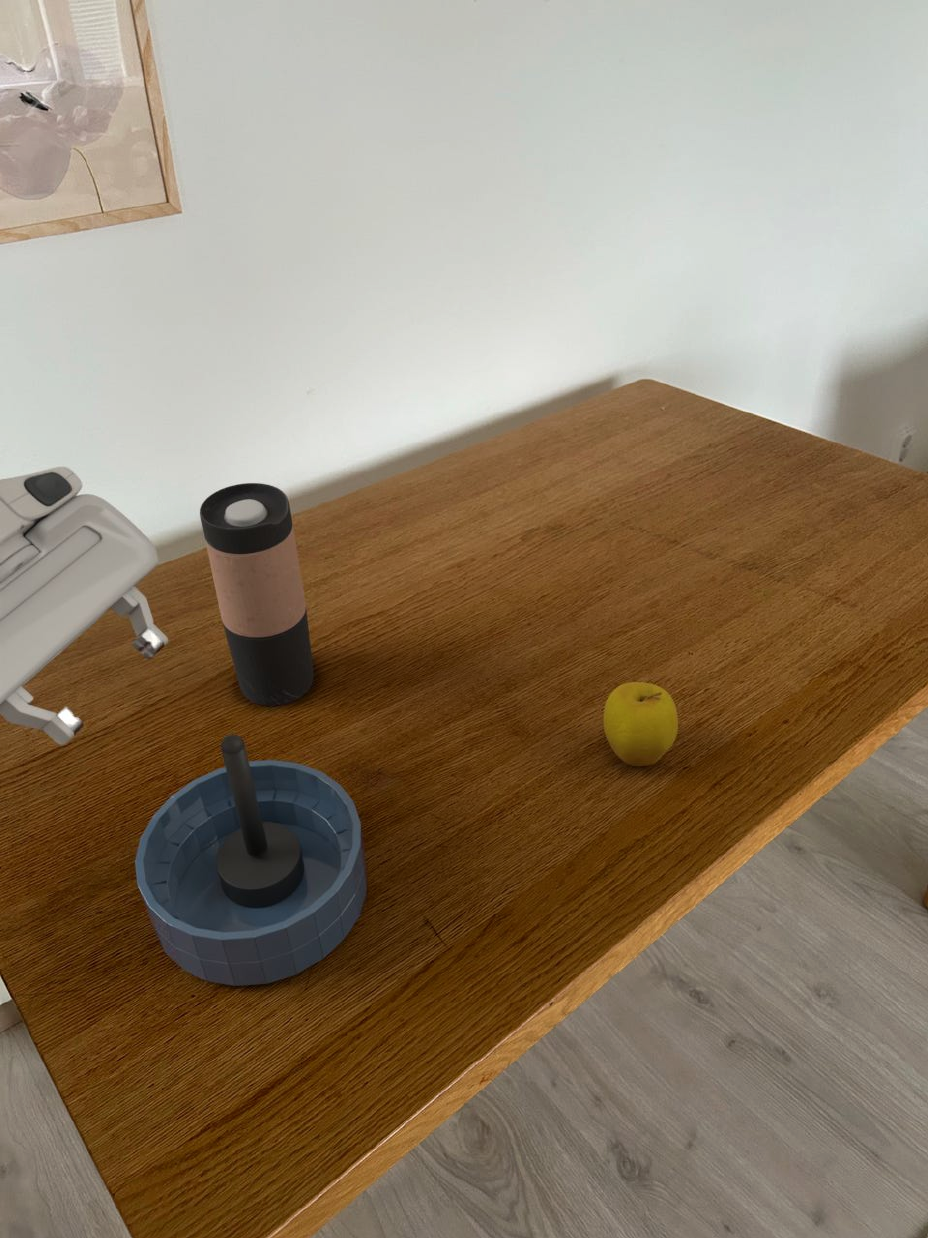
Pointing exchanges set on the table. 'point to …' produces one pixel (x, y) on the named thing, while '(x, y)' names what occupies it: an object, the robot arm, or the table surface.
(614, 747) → the yellow fruit
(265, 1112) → the table surface
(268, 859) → the joystick
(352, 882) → the bowl
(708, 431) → the table surface
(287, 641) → the travel mug
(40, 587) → the robot arm
